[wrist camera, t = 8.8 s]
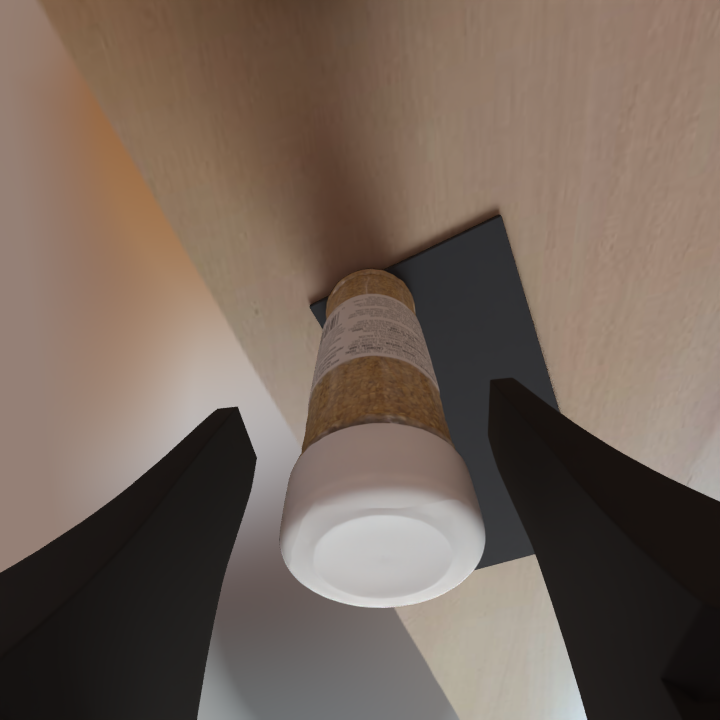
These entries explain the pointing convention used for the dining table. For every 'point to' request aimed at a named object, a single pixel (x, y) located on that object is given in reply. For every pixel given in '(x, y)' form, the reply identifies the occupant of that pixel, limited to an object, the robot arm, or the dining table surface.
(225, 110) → the dining table surface
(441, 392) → the mat
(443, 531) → the sprinkles bottle
